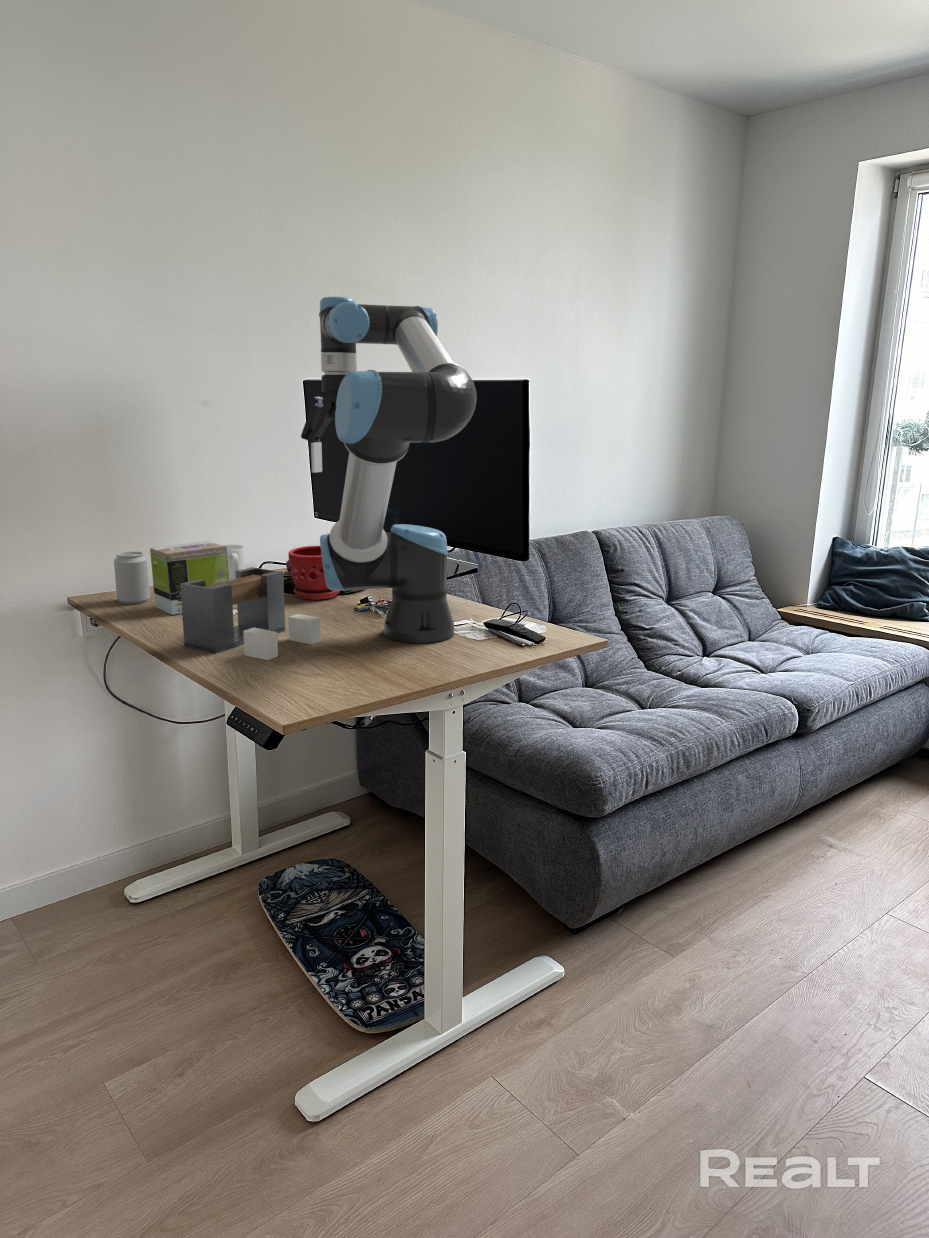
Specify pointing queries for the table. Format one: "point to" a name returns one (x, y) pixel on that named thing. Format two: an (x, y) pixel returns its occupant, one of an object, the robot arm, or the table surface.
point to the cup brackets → (230, 611)
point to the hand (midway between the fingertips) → (341, 474)
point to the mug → (235, 559)
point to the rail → (244, 588)
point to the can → (131, 577)
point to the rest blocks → (265, 641)
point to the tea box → (185, 570)
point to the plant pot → (309, 573)
